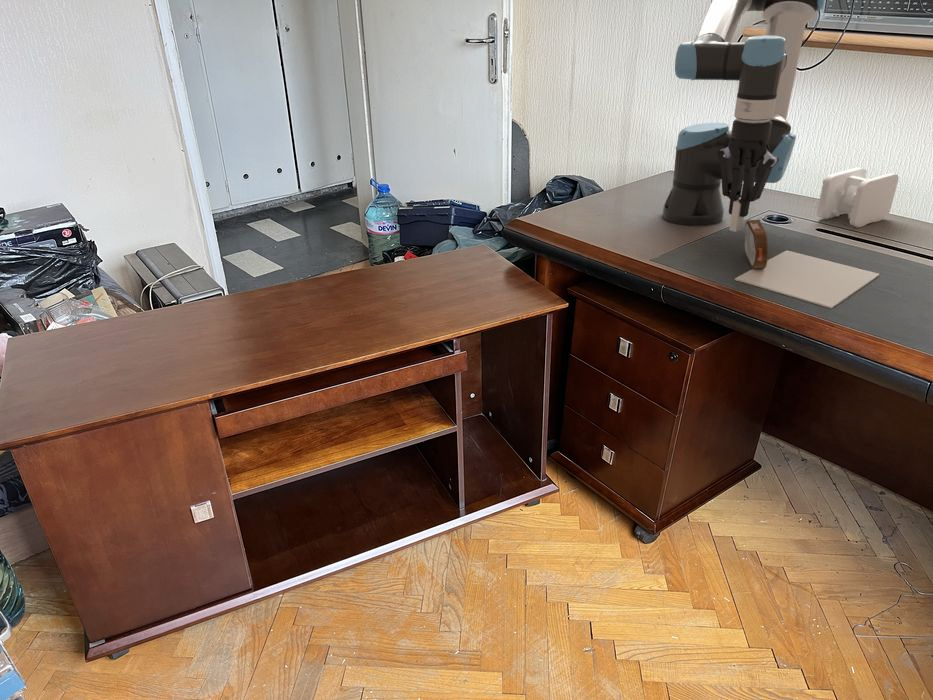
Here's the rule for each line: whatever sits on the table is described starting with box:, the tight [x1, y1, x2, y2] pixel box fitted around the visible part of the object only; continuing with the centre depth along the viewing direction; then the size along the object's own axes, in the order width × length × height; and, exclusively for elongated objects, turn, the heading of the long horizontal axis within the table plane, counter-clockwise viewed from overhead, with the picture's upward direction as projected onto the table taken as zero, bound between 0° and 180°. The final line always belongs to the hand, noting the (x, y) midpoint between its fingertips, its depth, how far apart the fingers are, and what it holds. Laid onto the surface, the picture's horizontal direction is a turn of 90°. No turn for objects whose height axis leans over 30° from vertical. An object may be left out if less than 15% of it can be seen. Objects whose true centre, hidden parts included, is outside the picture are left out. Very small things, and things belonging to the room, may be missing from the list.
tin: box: [743, 218, 769, 269], centre depth 149 cm, size 15×3×8 cm, turn 168°
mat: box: [734, 249, 880, 309], centre depth 143 cm, size 20×22×1 cm
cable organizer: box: [816, 167, 900, 229], centre depth 170 cm, size 15×11×12 cm
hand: (735, 229), depth 151 cm, fingers closed
